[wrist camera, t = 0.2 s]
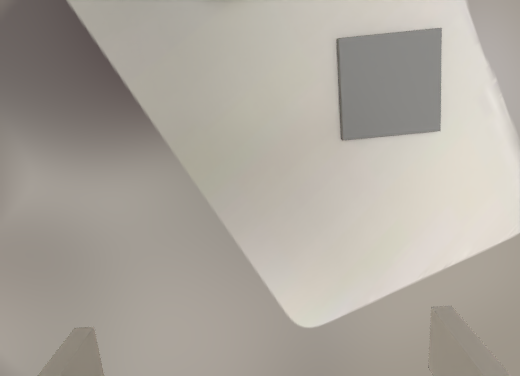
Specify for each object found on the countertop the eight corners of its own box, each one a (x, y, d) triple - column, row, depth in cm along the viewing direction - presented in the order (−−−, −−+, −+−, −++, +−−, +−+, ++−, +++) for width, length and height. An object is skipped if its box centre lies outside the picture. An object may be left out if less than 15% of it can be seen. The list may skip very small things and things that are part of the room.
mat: (336, 39, 38) (338, 38, 37) (437, 29, 38) (441, 27, 37) (341, 139, 41) (343, 140, 40) (436, 130, 40) (440, 131, 40)
